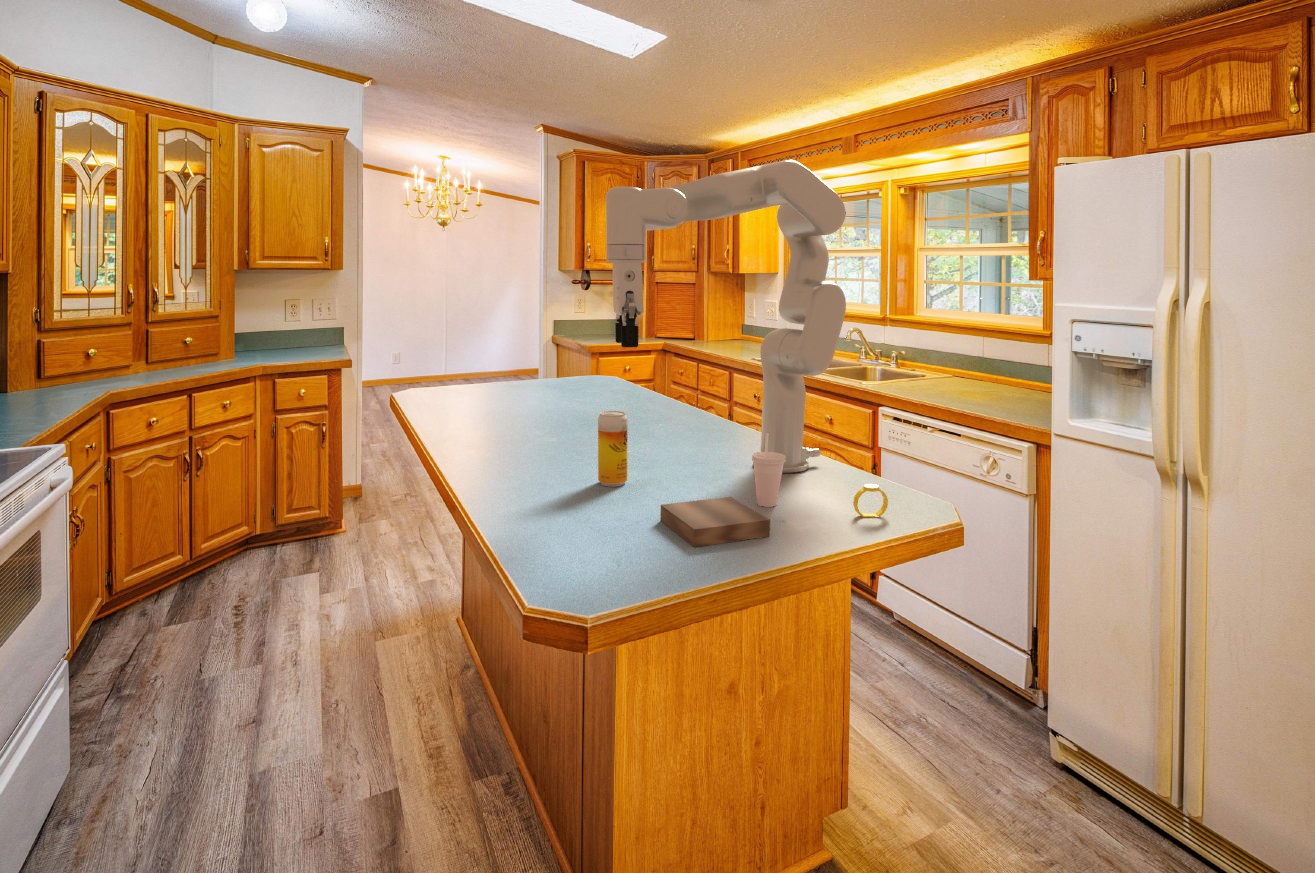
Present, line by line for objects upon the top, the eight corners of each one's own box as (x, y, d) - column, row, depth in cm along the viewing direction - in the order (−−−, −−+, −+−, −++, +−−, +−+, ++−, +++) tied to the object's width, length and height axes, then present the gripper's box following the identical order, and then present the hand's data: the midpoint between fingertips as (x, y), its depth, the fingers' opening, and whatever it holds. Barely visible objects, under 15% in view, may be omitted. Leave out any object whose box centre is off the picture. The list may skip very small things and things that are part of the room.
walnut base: (730, 512, 135) (730, 496, 134) (769, 536, 122) (770, 519, 122) (660, 520, 130) (660, 504, 129) (694, 547, 117) (694, 529, 116)
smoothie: (746, 499, 143) (749, 429, 140) (778, 499, 143) (782, 429, 140) (753, 509, 137) (756, 436, 134) (787, 509, 137) (791, 436, 134)
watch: (856, 520, 132) (856, 489, 131) (851, 515, 135) (851, 484, 134) (889, 518, 132) (889, 486, 131) (883, 513, 135) (883, 482, 134)
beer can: (623, 488, 150) (623, 416, 146) (594, 486, 151) (594, 415, 148) (630, 480, 155) (630, 411, 152) (602, 478, 157) (602, 410, 153)
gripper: (652, 254, 132) (652, 349, 135) (639, 256, 148) (639, 341, 152) (611, 253, 131) (612, 349, 134) (602, 256, 147) (603, 341, 151)
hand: (626, 344), depth 143 cm, fingers open, 9 cm apart
